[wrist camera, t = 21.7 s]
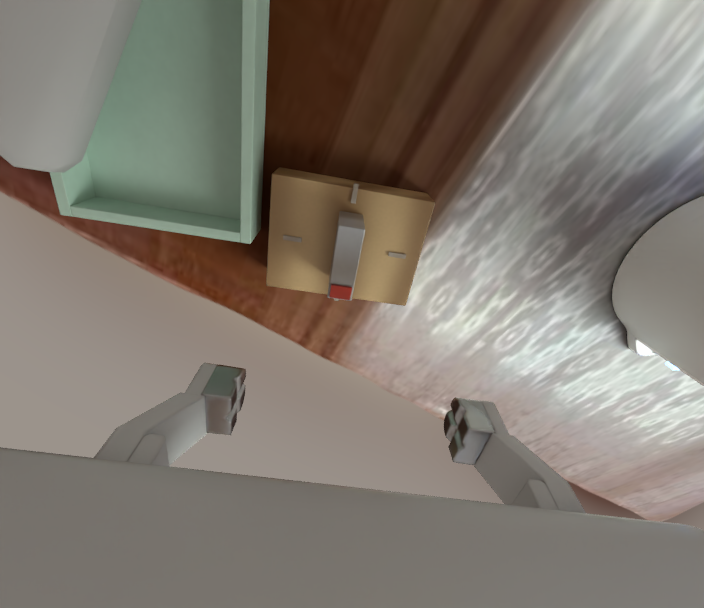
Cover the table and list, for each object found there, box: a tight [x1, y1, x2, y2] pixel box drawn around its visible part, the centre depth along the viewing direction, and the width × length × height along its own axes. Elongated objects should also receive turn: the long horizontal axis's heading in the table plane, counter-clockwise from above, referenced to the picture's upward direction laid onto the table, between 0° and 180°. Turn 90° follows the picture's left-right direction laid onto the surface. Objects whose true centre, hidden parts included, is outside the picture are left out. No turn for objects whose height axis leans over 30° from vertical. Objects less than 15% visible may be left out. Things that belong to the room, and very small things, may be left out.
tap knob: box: [327, 211, 365, 301], centre depth 25 cm, size 6×2×4 cm, turn 170°
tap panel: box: [266, 167, 435, 306], centre depth 28 cm, size 12×10×3 cm
